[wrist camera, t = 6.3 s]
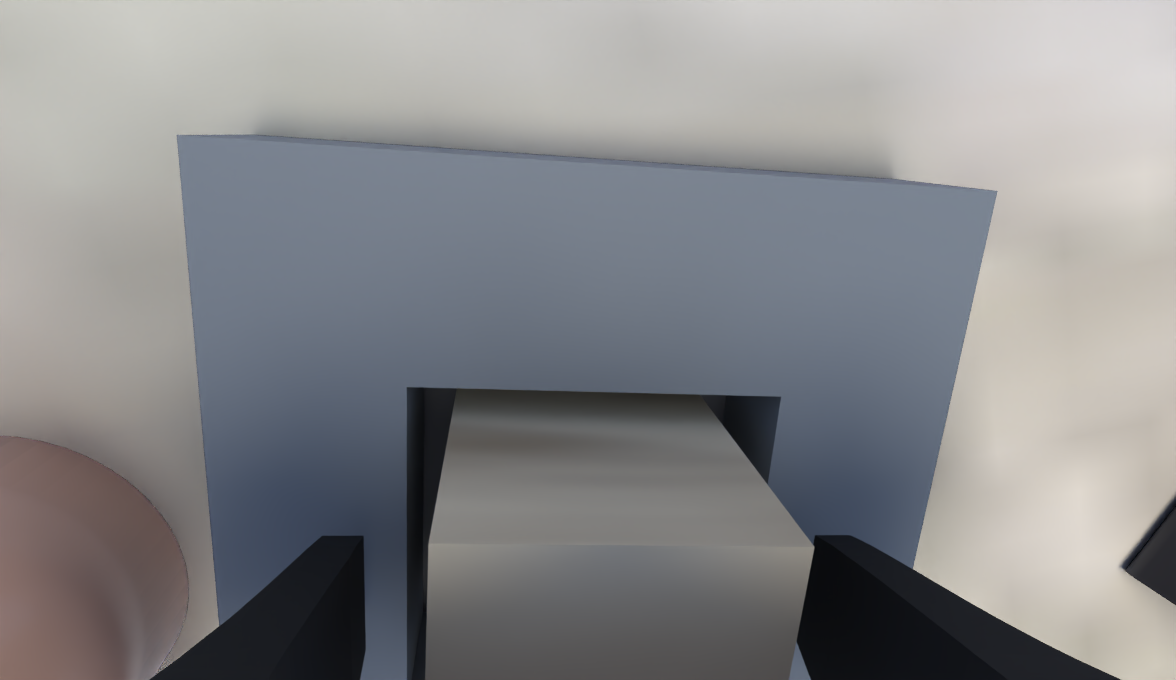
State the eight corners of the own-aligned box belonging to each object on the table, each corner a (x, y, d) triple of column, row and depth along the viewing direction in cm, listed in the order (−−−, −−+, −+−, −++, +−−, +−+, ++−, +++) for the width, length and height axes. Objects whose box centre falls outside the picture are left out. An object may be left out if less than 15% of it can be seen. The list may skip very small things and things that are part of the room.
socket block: (795, 716, 17) (853, 831, 15) (288, 735, 16) (240, 868, 13) (895, 179, 14) (997, 191, 11) (252, 134, 12) (176, 134, 9)
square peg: (662, 574, 15) (758, 837, 10) (453, 574, 15) (420, 853, 9) (688, 379, 14) (814, 547, 8) (460, 369, 13) (428, 543, 8)
